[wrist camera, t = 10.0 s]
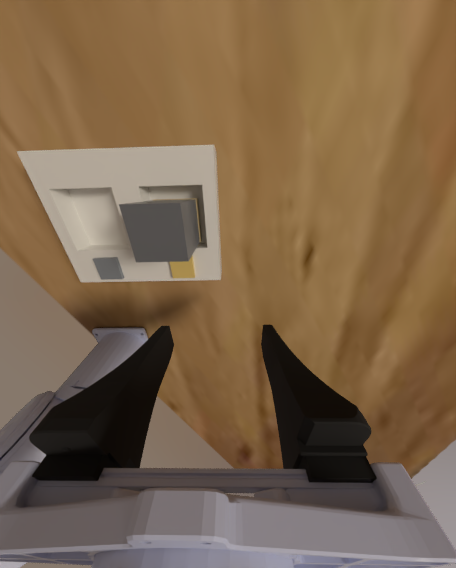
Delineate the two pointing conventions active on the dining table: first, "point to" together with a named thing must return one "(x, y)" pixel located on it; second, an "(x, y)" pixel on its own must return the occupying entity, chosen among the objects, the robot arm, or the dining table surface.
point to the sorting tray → (120, 190)
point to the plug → (163, 229)
